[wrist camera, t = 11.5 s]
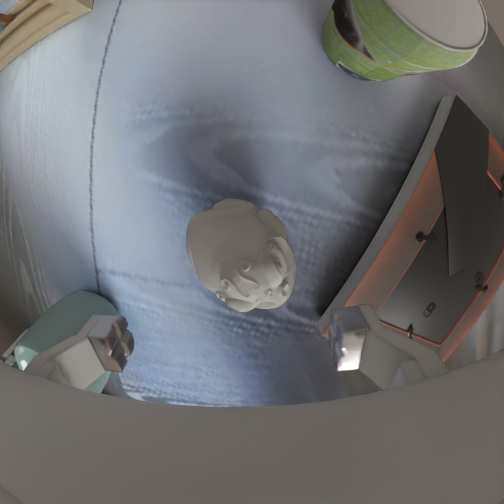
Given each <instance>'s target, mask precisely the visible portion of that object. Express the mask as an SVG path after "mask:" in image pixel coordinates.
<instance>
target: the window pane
mask: <svg viewBox="0 0 504 504" xmlns="http://www.w3.org/2000/svg"><path fill="white" fill-rule="evenodd" d="M15 18H16V17H14V16H10V15H6V14H2V13H0V32H1V31H2V30H3V29H4V28H5V27H6V26H7V25H8V24H10V23H11V22H12V21H13V20H14V19H15Z"/></svg>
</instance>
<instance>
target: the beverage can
mask: <svg viewBox="0 0 504 504" xmlns="http://www.w3.org/2000/svg"><path fill="white" fill-rule="evenodd" d="M486 35H487V18H486V14H485V11H484V8H483V5H482V3H481V1H480V0H335V1H334V3H333V5H332V7H331V10H330V12H329V14H328V16H327V19H326V21H325V23H324V26H323V29H322V44H323V47H324V50H325V52H326V54H327V56H328V58H329V59H330V60H331V62H332V63H333V64H334V65H335V66H336V67H337V68H338V69H339V70H341V71H342V72H343V73H345V74H346V75H348V76H350V77H352V78H354V79H357V80H360V81H365V82H382V81H386V80H390V79H394V78H399V77H404V76H409V75H414V74H419V73H425V72H431V71H437V70H445V69H451V68H456V67H460V66H462V65H464V64H466V63H468V62H469V61H470V60H471V59H472V58H473V57H474V56H475V54H476V52H477V50H478V48H479V47H480V46H481V45H482V44H483V42H484V40H485V38H486Z"/></svg>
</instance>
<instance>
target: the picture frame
mask: <svg viewBox="0 0 504 504" xmlns="http://www.w3.org/2000/svg"><path fill="white" fill-rule="evenodd" d="M503 280H504V151H503V150H502V149H501V147H500V146H499V145H498V143H497V142H496V141H495V139H494V138H493V137H492V136H491V134H490V133H489V130H488V129H487V128H486V127H485V126H484V124H483V123H482V122H481V121H480V120H479V118H478V117H477V116H476V115H475V114H474V113H473V112H472V111H471V110H470V108H469V107H468V106H467V105H466V104H465V103H464V102H463V101H462V100H461V99H460V98H459V97H458V96H457V95H454V96H446V97H442V99H441V102H440V104H439V107H438V109H437V112H436V114H435V117H434V119H433V122H432V124H431V126H430V129H429V131H428V133H427V136H426V138H425V140H424V142H423V145H422V147H421V149H420V151H419V153H418V156H417V158H416V160H415V162H414V164H413V166H412V168H411V170H410V172H409V174H408V176H407V178H406V180H405V182H404V184H403V186H402V188H401V190H400V192H399V193H398V195H397V197H396V199H395V201H394V203H393V205H392V206H391V208H390V210H389V212H388V214H387V215H386V217H385V219H384V221H383V223H382V224H381V226H380V228H379V229H378V231H377V233H376V235H375V236H374V238H373V240H372V241H371V243H370V245H369V246H368V248H367V249H366V251H365V253H364V254H363V256H362V258H361V259H360V261H359V262H358V264H357V265H356V267H355V269H354V270H353V272H352V273H351V275H350V276H349V278H348V279H347V281H346V282H345V284H344V285H343V287H342V288H341V290H340V291H339V293H338V294H337V296H336V297H335V298H334V300H333V301H332V303H331V304H330V306H329V307H328V308H327V310H326V311H325V313H324V314H323V315H322V317H321V318H320V320H319V321H318V326H319V329H320V333H321V336H323V337H326V338H329V336H328V333H329V327H330V325H331V324H332V323H331V320H330V311H331V309H333V308H342V307H350V306H356V305H361V304H368V303H369V304H371V306H372V308H373V309H374V311H375V313H376V314H377V316H378V318H379V319H380V321H381V323H382V324H383V326H384V328H390V329H392V330H394V331H396V332H398V333H400V334H402V335H404V336H406V337H408V338H410V339H412V340H414V341H416V342H418V343H420V344H422V345H424V346H426V347H428V348H430V349H432V350H434V351H436V352H437V353H438V355H439V356H440V358H441V360H442V361H443V362H444V361H445V360H446V359H447V358H448V357H449V355H450V354H451V353H452V352H453V351H454V350H455V348H456V347H457V346H458V345H459V344H460V342H461V341H462V340H463V339H464V337H465V336H466V335H467V333H468V332H469V331H470V330H471V328H472V327H473V325H474V324H475V323H476V321H477V320H478V319H479V317H480V316H481V314H482V313H483V311H484V310H485V309H486V307H487V306H488V304H489V303H490V301H491V299H492V298H493V296H494V295H495V293H496V292H497V290H498V288H499V287H500V285H501V283H502V282H503Z"/></svg>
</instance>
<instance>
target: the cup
mask: <svg viewBox="0 0 504 504" xmlns="http://www.w3.org/2000/svg"><path fill="white" fill-rule="evenodd" d="M92 315H112V316H120V315H119V313H118V311H117V309H116V308H115V307H114V306H113V305H112V304H111V303H110V302H109V301H108V300H107V299H105V298H104V297H102V296H100V295H98V294H95V293H93V292H88V291H77V292H74V293H71V294H69V295H67V296H65V297H63V298H62V299H60V300H59V301H57V302H56V303H55V304H54V305H52V306H51V307H50V308H49V309H48V310H47V311H46V312H45V313H44V314H43V315H42V316H41V317H40V318H39V319H38V320H37V321H36V322H35V323H34V324H33V325H32V326H31V327H30V328H29V329H28V330H27V332H26V333H25V334H24V335H23V336H22V337H21V339H20V340H19V341H18V342H17V344H16V346H15V350H14V354H15V358H16V361H17V364H18V366H19V368H20V370H22V371H24V369H25V368H26V367H27V365H28V364H29V363H30V362H31V360H32V359H33V358H34V357H35V356H36V355H38V354H39V353H41V352H43V351H45V350H47V349H49V348H51V347H53V346H54V345H56V344H58V343H60V342H62V341H64V340H66V339H68V338H70V337H71V336H73V335H75V336H76V335H77V334H78V333H79V331H80V330H81V329H82V328H83V326H84V325H85V324H86V323H87V321H88V320H89V319H90V318H91V317H92ZM111 373H112V371H105V372H104V373H103V374H102V375H101V376H99V377H98V378H97V379H96V380H95V381H93V382H92V383H91V384H90V385H88V386H87V387H86V388H85V389H84V390H88V391H93V392H97V393H102V391H103V389H104V387H105V385H106V383H107V381H108V379H109V377H110V375H111Z"/></svg>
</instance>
